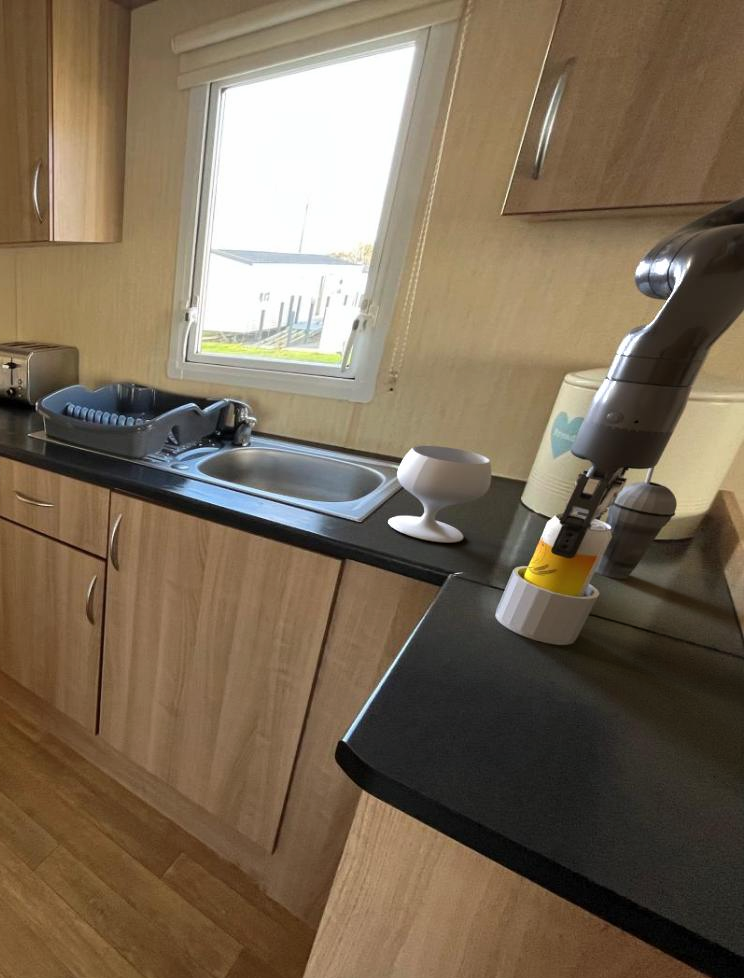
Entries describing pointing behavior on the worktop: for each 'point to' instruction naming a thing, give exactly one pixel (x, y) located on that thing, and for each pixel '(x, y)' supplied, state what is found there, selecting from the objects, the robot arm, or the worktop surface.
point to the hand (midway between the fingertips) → (570, 547)
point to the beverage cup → (635, 525)
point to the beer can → (567, 559)
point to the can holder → (543, 610)
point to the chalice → (440, 488)
